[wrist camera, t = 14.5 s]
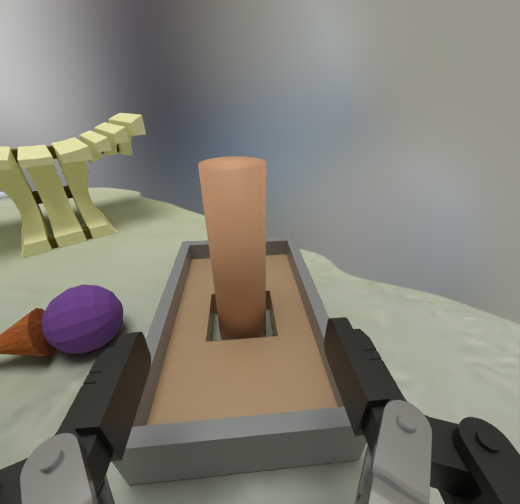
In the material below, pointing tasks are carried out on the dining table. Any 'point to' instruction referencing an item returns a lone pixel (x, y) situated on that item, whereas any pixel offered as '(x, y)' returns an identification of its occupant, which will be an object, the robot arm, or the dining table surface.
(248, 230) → the peg
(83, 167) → the slatted curved stool
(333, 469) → the dining table surface
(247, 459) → the peg box
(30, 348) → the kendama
